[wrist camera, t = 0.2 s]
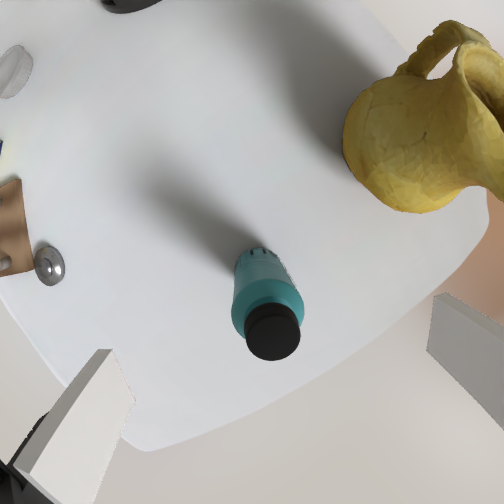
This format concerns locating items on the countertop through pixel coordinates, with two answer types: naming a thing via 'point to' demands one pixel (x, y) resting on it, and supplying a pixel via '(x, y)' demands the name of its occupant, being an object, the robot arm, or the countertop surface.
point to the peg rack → (13, 232)
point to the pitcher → (431, 125)
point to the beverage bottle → (266, 305)
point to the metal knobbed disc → (49, 266)
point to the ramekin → (14, 71)
